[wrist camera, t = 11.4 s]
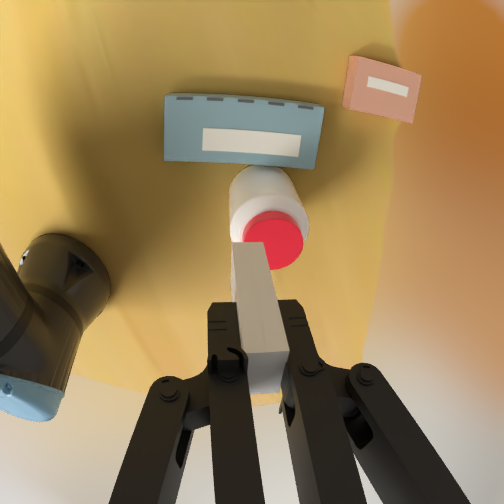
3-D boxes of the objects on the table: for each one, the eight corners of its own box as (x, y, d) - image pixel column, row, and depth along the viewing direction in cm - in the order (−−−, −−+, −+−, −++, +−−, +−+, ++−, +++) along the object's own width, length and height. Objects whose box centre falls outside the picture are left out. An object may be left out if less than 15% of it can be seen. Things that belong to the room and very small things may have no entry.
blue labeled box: (167, 153, 34) (163, 161, 32) (169, 93, 30) (164, 96, 28) (308, 162, 36) (314, 170, 34) (318, 103, 32) (325, 107, 30)
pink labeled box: (341, 105, 32) (349, 109, 30) (349, 55, 28) (358, 56, 26) (402, 118, 33) (412, 124, 31) (411, 72, 29) (422, 75, 27)
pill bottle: (215, 196, 37) (211, 249, 28) (260, 150, 35) (273, 189, 26) (262, 233, 41) (272, 291, 32) (306, 192, 38) (332, 242, 29)
